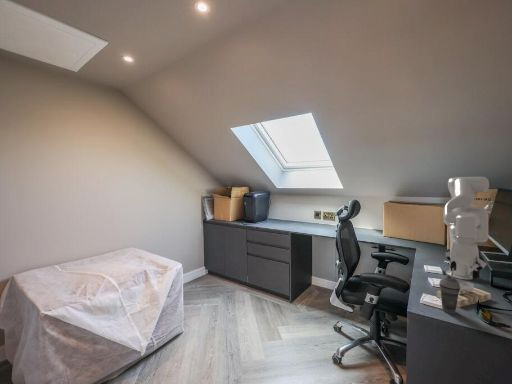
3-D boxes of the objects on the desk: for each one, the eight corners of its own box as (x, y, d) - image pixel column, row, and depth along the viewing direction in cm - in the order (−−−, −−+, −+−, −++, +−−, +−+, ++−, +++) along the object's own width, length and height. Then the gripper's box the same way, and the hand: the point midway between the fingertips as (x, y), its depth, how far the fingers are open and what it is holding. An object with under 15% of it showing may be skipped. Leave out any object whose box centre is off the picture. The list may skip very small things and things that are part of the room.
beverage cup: (443, 305, 112) (444, 263, 111) (462, 313, 105) (464, 268, 104) (435, 309, 108) (436, 265, 107) (454, 317, 102) (456, 271, 101)
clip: (466, 295, 121) (467, 281, 121) (473, 298, 118) (474, 284, 118) (452, 298, 118) (453, 284, 118) (459, 301, 115) (459, 287, 115)
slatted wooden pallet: (467, 290, 126) (467, 285, 126) (490, 299, 117) (490, 293, 116) (436, 297, 120) (436, 291, 119) (458, 307, 110) (459, 300, 110)
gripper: (441, 236, 124) (440, 268, 125) (481, 246, 107) (479, 282, 109) (451, 235, 126) (450, 266, 127) (492, 244, 110) (490, 280, 111)
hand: (463, 274), depth 118 cm, fingers open, 9 cm apart
